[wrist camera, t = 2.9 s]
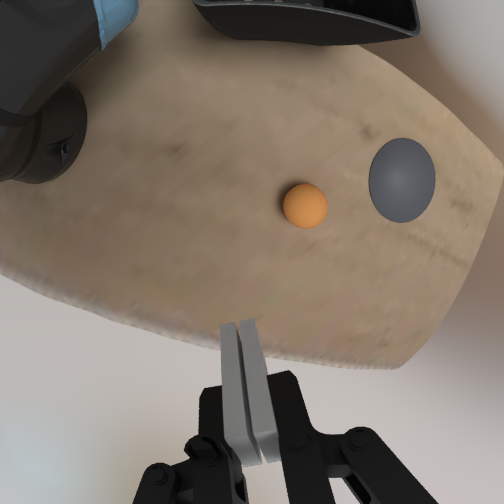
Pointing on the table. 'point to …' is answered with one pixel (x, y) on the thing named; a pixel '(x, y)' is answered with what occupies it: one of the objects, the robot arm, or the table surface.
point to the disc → (402, 180)
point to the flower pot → (314, 20)
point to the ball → (305, 206)
